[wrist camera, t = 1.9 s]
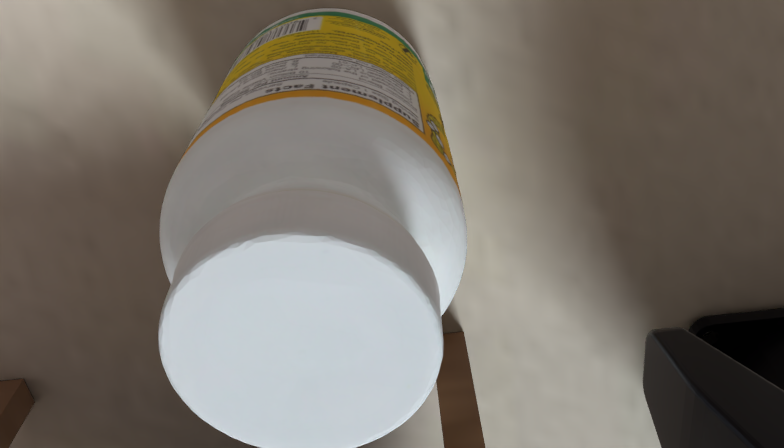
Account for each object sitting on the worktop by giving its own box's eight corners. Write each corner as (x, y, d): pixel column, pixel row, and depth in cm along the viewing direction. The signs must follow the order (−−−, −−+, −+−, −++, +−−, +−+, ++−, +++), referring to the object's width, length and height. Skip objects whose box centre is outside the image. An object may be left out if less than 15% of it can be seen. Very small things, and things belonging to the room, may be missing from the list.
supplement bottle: (257, -29, 16) (143, 119, 8) (469, 47, 18) (562, 248, 9) (206, 170, 19) (77, 442, 11) (395, 227, 20) (414, 516, 12)
